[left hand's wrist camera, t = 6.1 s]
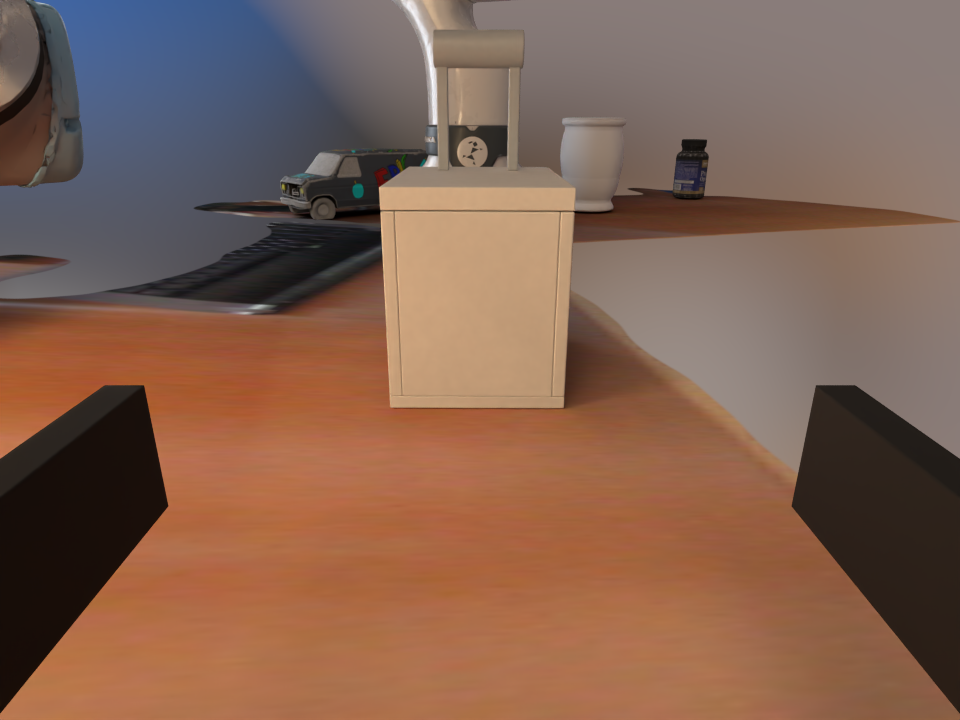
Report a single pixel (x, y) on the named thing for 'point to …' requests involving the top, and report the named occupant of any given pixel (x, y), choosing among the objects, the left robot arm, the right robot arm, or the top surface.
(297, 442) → the top surface
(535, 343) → the chest
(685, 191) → the pill bottle
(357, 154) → the toy van
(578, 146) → the jar
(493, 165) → the right robot arm
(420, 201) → the lid
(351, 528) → the top surface
